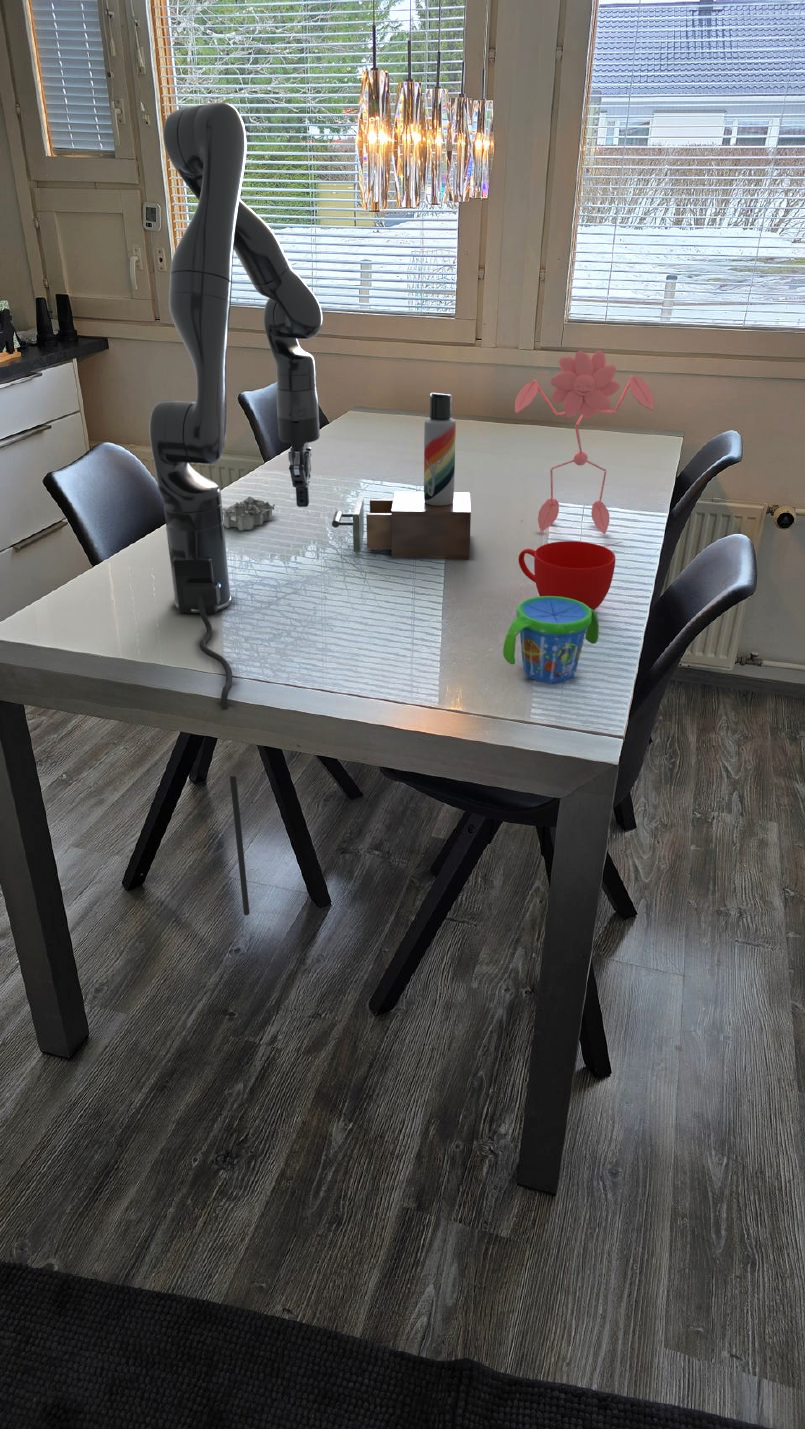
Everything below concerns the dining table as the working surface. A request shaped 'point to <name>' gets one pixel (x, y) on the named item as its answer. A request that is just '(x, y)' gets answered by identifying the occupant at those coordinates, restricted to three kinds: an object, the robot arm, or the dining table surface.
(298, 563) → the dining table surface
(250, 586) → the dining table surface
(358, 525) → the drawer
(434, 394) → the lotion bottle
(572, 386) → the figurine
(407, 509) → the cabinet
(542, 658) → the snack cup
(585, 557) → the ceramic cup
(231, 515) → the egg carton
